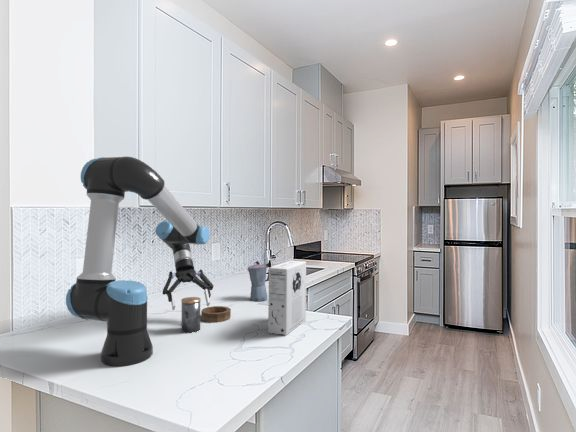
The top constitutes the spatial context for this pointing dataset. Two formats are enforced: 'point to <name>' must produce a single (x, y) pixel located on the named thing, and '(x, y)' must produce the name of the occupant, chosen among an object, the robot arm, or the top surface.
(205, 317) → the wooden bowl
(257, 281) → the moka pot
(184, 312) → the canister
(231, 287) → the top surface
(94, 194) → the robot arm
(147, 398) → the top surface
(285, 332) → the cereal box
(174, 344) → the top surface
